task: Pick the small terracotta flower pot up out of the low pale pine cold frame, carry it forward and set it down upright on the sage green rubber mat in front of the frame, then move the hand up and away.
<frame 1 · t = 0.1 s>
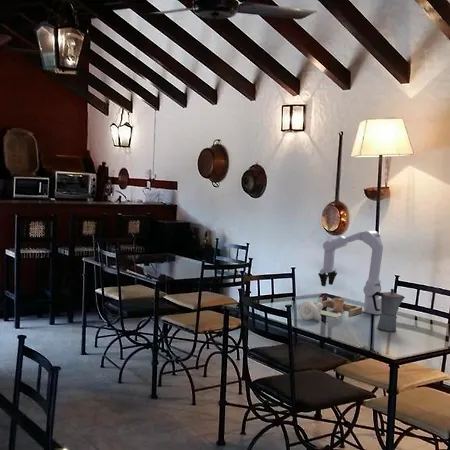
hand: (327, 285, 351), 10 cm above the table, tool pointing down, fingers open, 7 cm apart
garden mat: (327, 313, 325), on the table
terracotta pot: (338, 304, 334), in the cold frame
moka pot: (385, 329, 300), on the table
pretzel: (312, 320, 310), on the table
cold frame: (338, 310, 334), on the table
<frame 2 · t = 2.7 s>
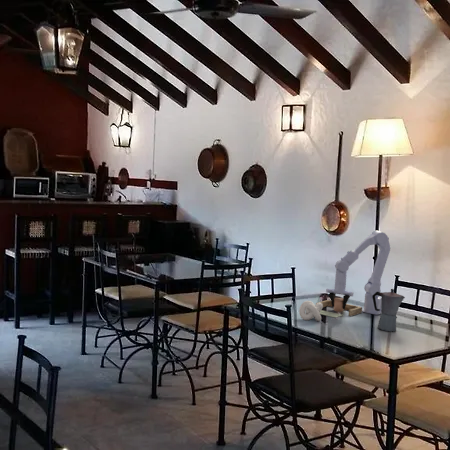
hand: (338, 307, 334), 2 cm above the table, tool pointing down, fingers closed on terracotta pot, 5 cm apart
terracotta pot: (338, 304, 334), in the cold frame, touching gripper
everything else where it was.
when the fingers open (3 cm above the table, at t = 6.6 s): terracotta pot drops 1 cm, resting on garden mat.
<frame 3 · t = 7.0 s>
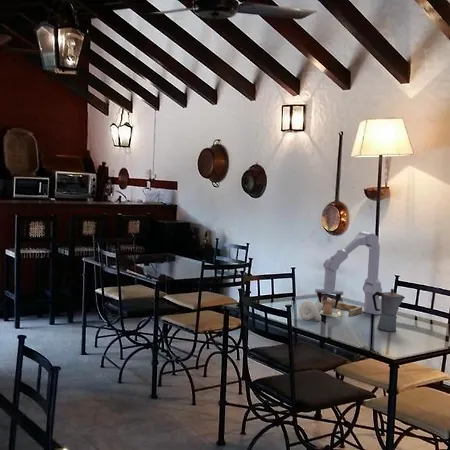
hand: (327, 307, 325), 3 cm above the table, tool pointing down, fingers open, 7 cm apart
terracotta pot: (327, 307, 325), resting on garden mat
everything else where it was.
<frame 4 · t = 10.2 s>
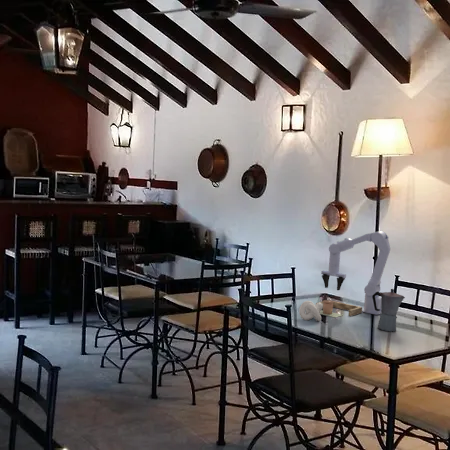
hand: (332, 288, 345), 9 cm above the table, tool pointing down, fingers open, 7 cm apart
nothing on the table moved.
at the end: terracotta pot inside the target area (0.4 cm from its centre), resting on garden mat; terracotta pot tilted 0°; the gripper is holding nothing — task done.
